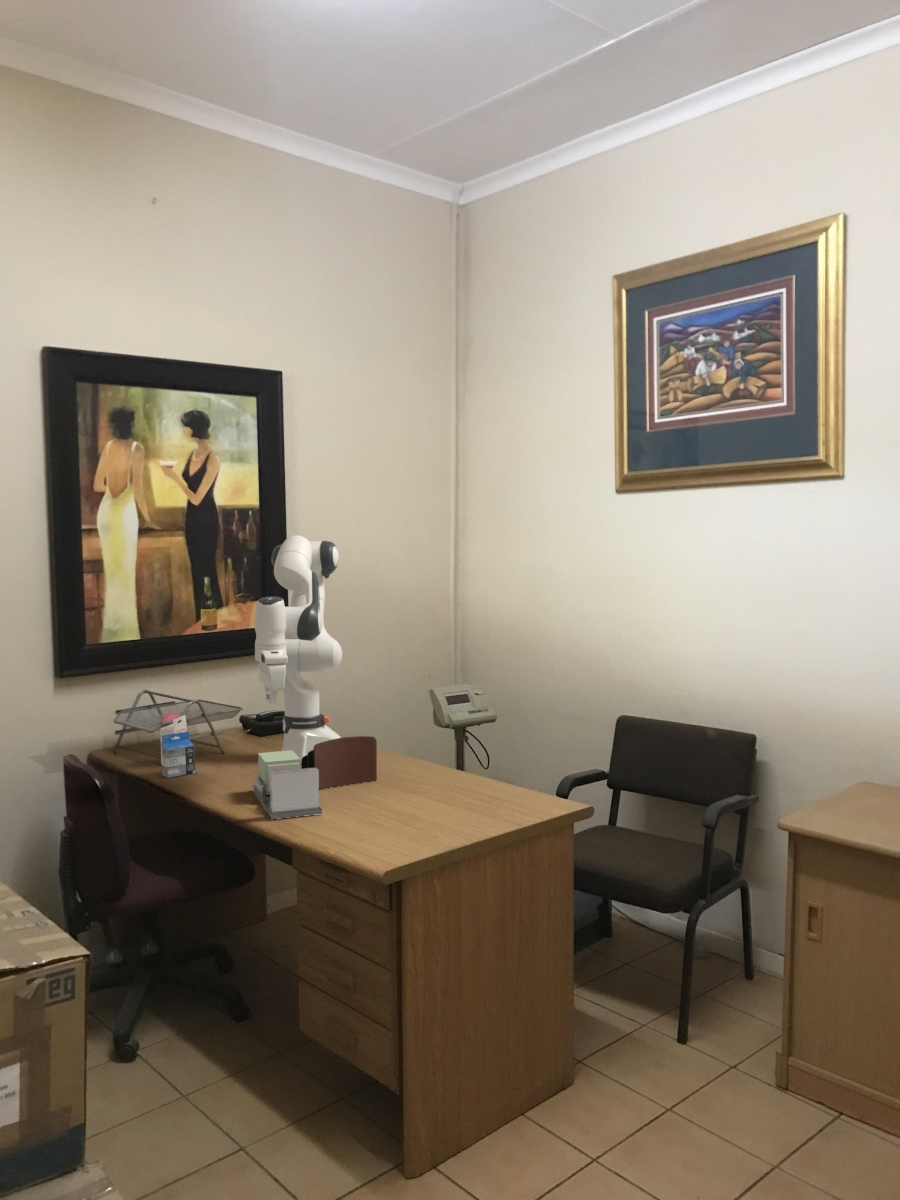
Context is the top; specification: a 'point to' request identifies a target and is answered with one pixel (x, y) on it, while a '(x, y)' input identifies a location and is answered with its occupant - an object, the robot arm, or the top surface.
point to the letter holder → (344, 761)
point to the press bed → (290, 793)
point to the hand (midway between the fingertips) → (271, 701)
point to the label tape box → (177, 755)
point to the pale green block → (276, 764)
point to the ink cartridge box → (174, 729)
